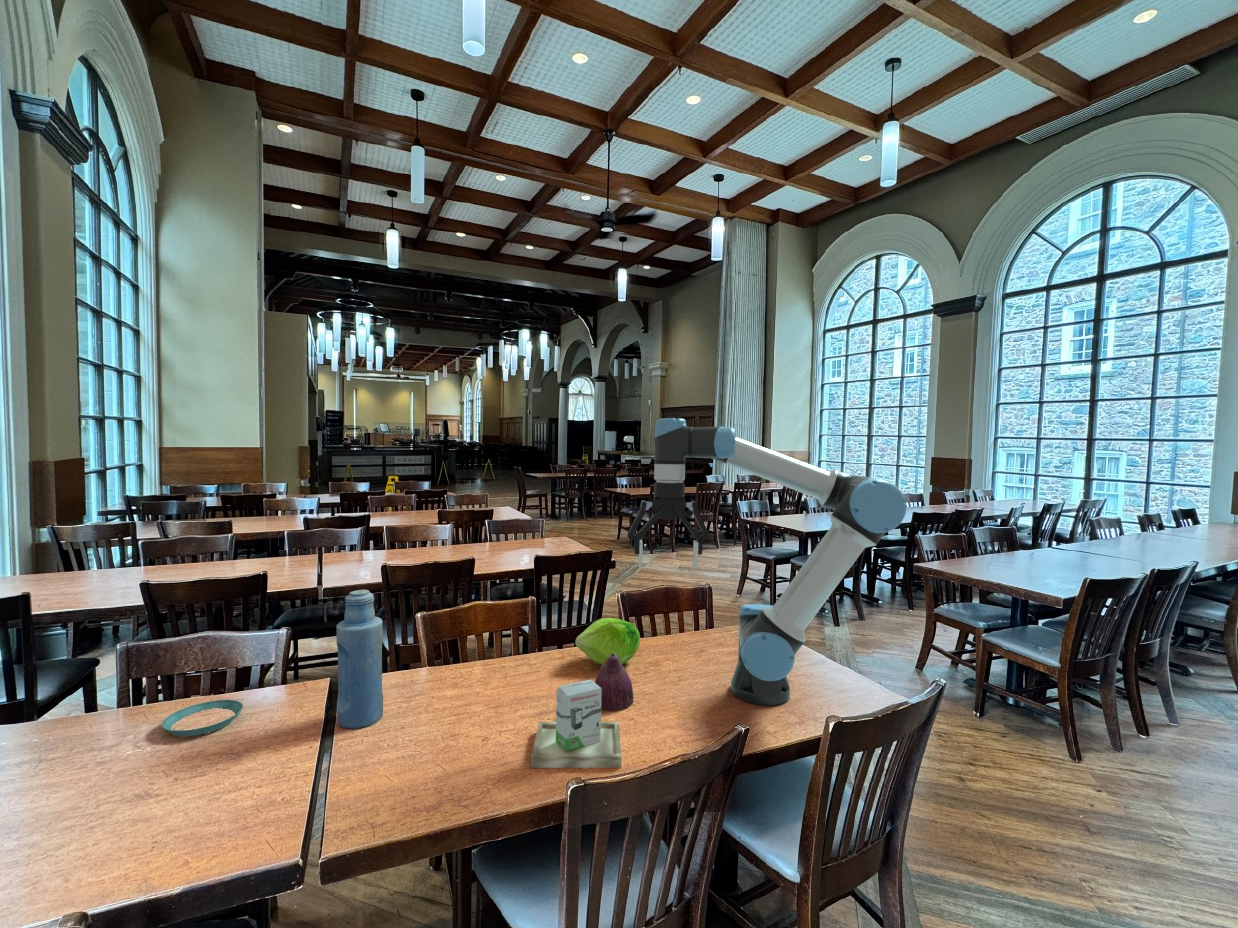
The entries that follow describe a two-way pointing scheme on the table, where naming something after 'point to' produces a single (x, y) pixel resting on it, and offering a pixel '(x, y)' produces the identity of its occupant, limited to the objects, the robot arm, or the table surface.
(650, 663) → the table surface
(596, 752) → the tray
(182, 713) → the teal round ring piece
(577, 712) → the ink box
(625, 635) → the lettuce
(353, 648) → the bottle
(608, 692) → the vegetable
